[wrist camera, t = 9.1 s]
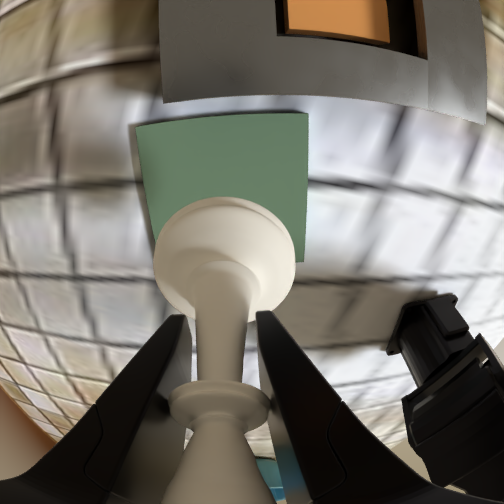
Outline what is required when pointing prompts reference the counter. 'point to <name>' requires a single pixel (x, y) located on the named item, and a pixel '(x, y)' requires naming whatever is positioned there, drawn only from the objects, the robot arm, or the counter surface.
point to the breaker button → (338, 19)
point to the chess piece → (221, 339)
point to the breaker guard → (322, 58)
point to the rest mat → (228, 165)
